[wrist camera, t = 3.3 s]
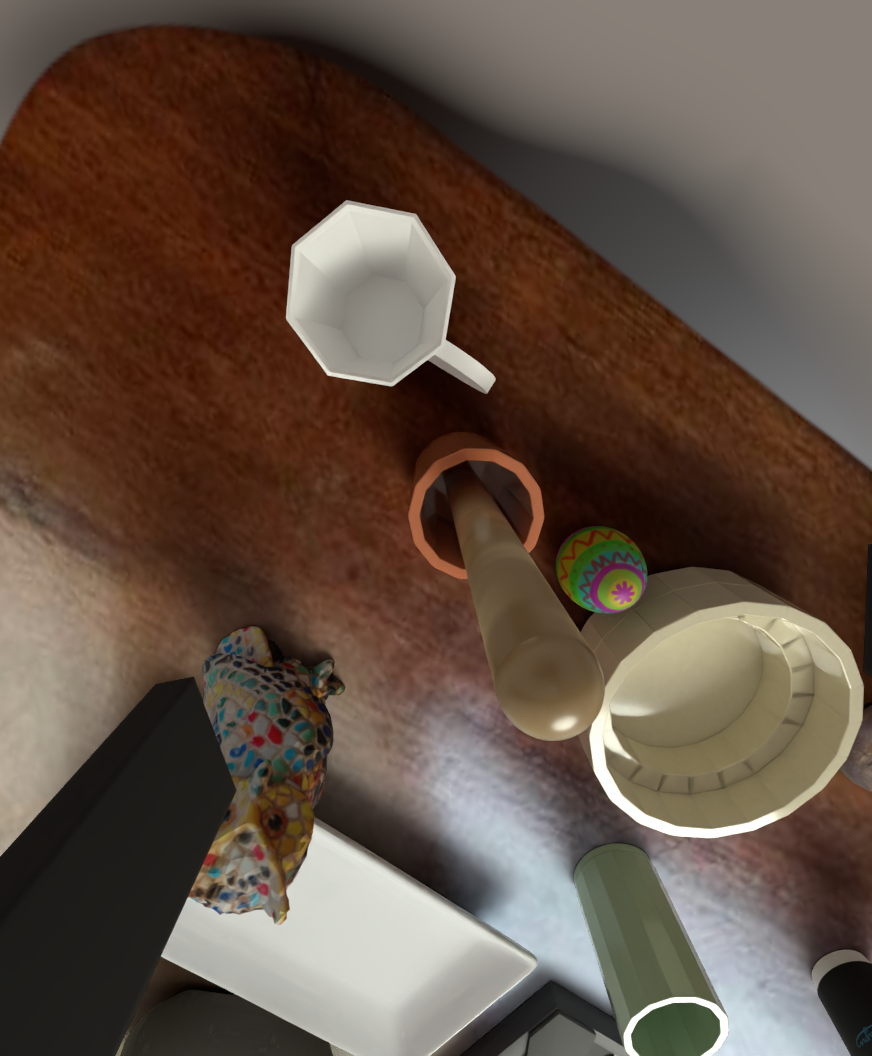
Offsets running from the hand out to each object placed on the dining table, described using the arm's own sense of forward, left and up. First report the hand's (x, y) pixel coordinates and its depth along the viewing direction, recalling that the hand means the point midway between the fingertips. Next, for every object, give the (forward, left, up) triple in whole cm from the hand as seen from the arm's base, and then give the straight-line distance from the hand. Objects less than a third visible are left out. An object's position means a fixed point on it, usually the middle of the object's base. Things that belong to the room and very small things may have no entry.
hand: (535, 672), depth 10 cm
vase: (-6, +33, -21) cm, 40 cm away
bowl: (-12, +16, -21) cm, 29 cm away
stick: (0, 0, -21) cm, 21 cm away
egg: (-7, +6, -21) cm, 23 cm away
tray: (+17, +29, -21) cm, 40 cm away
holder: (0, 0, -21) cm, 21 cm away
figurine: (+14, +11, -21) cm, 28 cm away
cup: (+1, -9, -21) cm, 23 cm away
